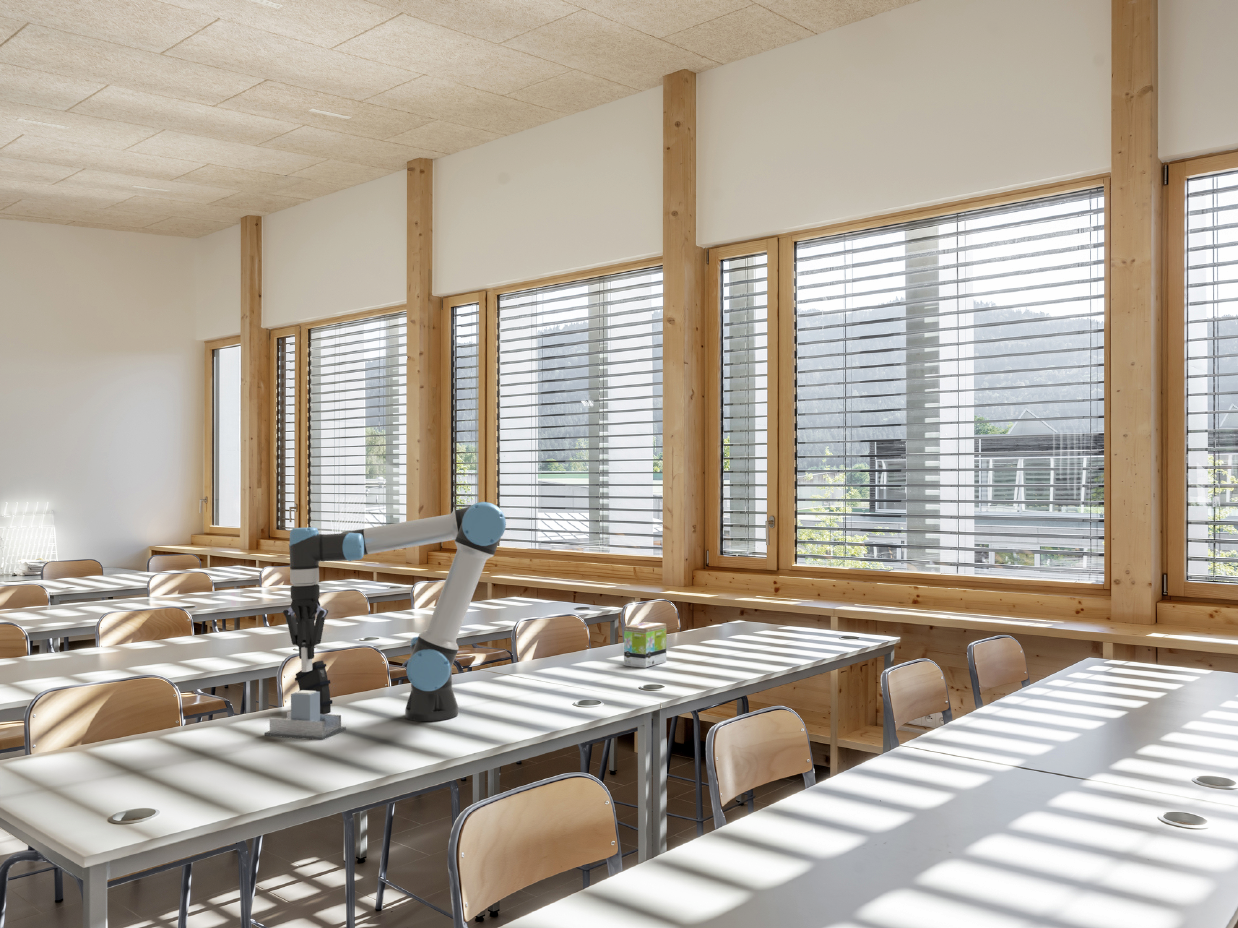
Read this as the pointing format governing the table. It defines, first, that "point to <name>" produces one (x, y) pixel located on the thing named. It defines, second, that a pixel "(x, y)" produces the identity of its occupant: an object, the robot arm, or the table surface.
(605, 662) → the table surface
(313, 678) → the magazine
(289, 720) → the grey piece
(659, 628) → the tea box
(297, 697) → the block
